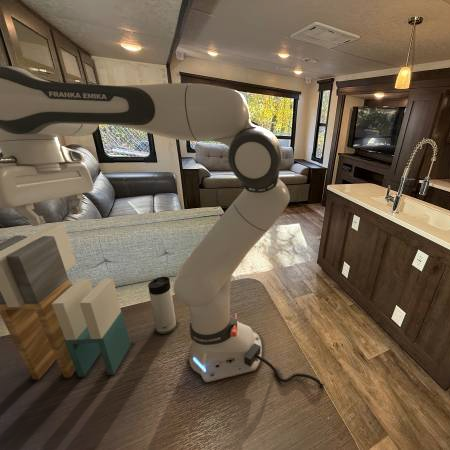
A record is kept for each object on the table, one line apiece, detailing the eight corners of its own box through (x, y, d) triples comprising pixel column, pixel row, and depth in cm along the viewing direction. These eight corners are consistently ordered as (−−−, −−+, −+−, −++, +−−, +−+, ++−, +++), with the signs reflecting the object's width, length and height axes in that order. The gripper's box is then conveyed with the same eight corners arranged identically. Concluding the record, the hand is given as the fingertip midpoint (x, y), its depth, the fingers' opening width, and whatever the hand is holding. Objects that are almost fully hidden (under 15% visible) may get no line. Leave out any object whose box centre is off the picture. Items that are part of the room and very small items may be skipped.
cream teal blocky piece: (130, 345, 79) (114, 278, 69) (113, 374, 70) (91, 302, 60) (99, 346, 78) (78, 278, 68) (78, 376, 69) (49, 303, 59)
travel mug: (169, 336, 84) (161, 288, 76) (151, 331, 85) (142, 284, 77) (180, 322, 89) (174, 277, 82) (164, 318, 90) (157, 273, 83)
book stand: (92, 346, 78) (55, 236, 62) (70, 377, 69) (20, 256, 53) (60, 348, 76) (14, 235, 61) (32, 379, 67) (-30, 256, 52)
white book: (76, 262, 74) (63, 223, 69) (20, 307, 57) (-2, 258, 52) (67, 262, 74) (54, 223, 69) (7, 307, 57) (-16, 258, 52)
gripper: (-10, 156, 42) (24, 232, 46) (89, 153, 61) (106, 207, 65) (-45, 159, 42) (-9, 235, 46) (64, 156, 62) (83, 209, 66)
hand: (59, 218), depth 56 cm, fingers open, 8 cm apart
